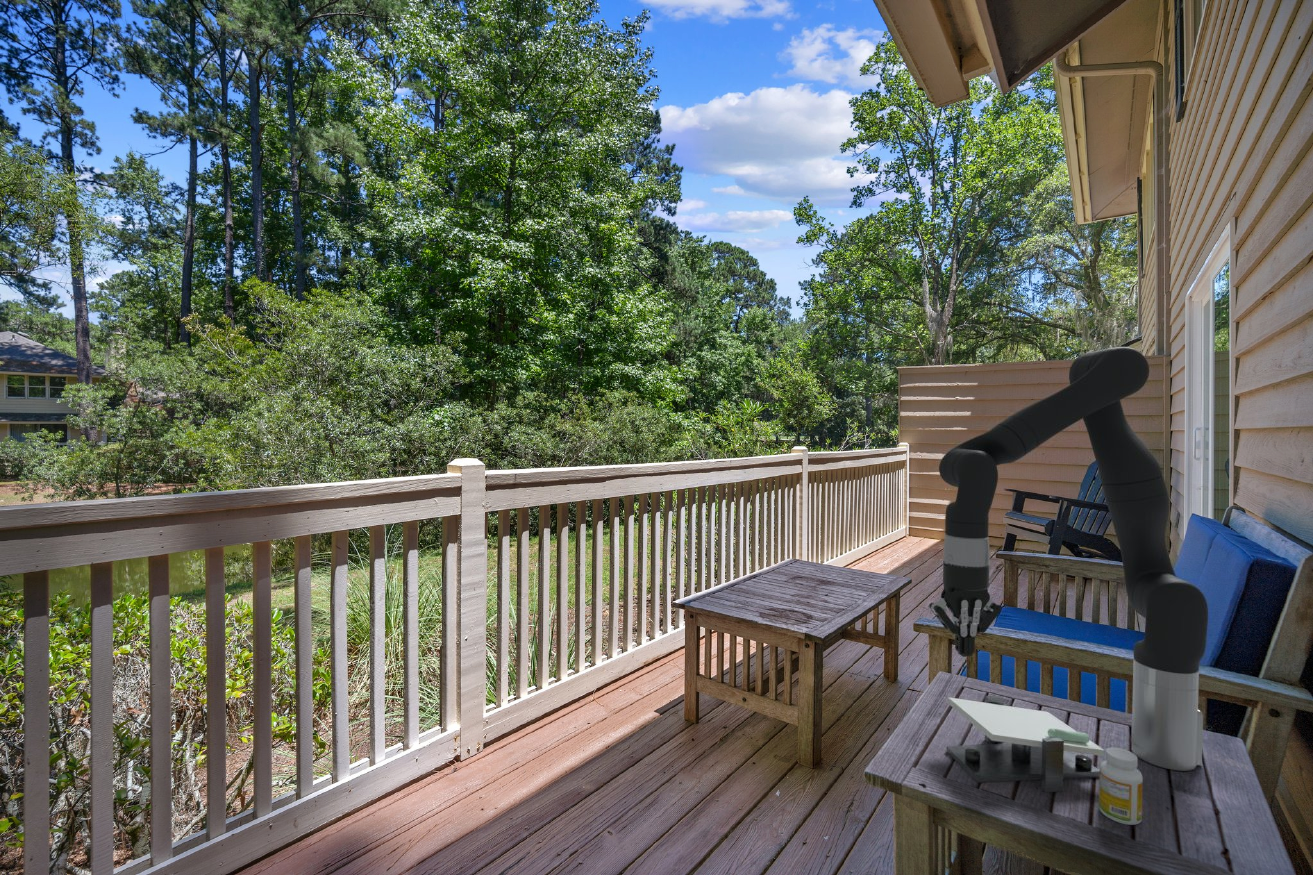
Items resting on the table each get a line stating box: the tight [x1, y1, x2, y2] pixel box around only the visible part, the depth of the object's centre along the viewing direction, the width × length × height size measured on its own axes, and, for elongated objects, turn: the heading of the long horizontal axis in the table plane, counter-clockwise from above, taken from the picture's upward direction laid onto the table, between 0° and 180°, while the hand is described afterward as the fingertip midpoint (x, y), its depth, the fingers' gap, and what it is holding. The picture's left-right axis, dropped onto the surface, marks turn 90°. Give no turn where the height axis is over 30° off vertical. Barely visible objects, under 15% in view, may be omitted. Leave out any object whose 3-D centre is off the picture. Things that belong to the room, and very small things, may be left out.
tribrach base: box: [946, 695, 1100, 793], centre depth 113 cm, size 22×17×8 cm
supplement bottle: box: [1098, 746, 1144, 826], centre depth 98 cm, size 5×5×10 cm
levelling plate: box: [946, 697, 1106, 757], centre depth 113 cm, size 20×14×3 cm
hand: (964, 655), depth 115 cm, fingers closed
